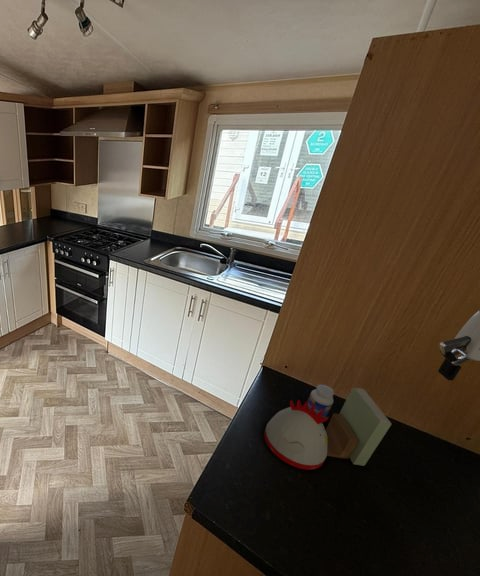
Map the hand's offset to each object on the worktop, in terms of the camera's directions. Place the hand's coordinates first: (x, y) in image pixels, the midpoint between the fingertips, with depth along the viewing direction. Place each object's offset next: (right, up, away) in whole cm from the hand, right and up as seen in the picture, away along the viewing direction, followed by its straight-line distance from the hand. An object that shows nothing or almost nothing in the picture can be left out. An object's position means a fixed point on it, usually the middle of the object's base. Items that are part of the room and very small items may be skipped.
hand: (470, 378), depth 68 cm
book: (-14, -15, +10) cm, 23 cm away
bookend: (-20, -22, +15) cm, 33 cm away
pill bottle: (-18, -17, +24) cm, 34 cm away
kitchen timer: (-30, -22, +15) cm, 40 cm away
